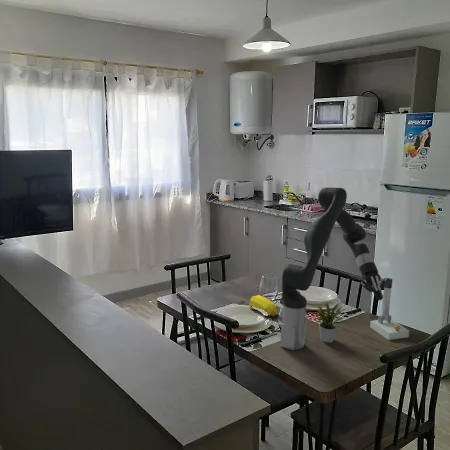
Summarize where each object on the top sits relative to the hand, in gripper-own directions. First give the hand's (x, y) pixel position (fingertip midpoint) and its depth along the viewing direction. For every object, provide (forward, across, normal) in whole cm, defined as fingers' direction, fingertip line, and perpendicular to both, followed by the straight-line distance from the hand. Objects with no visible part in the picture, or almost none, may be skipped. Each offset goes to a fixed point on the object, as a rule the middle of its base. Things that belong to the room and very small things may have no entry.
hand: (380, 299), depth 202 cm
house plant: (+14, -29, +4) cm, 32 cm away
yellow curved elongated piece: (-11, -44, +29) cm, 54 cm away
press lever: (+9, 0, +3) cm, 9 cm away
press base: (+14, 0, +3) cm, 14 cm away
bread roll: (-18, -25, +36) cm, 47 cm away
